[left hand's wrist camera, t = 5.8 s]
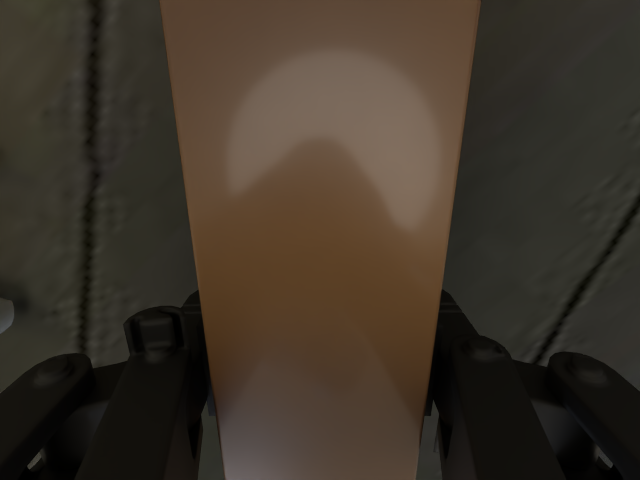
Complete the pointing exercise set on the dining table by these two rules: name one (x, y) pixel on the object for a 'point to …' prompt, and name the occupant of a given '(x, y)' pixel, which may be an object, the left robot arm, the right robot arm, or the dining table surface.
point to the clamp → (6, 314)
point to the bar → (320, 219)
